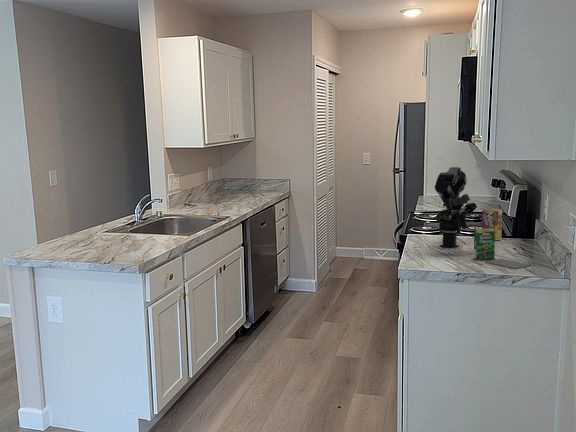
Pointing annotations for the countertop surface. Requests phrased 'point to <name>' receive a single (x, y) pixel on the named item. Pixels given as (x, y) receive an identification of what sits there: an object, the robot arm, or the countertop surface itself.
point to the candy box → (492, 221)
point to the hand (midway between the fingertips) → (465, 228)
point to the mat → (508, 263)
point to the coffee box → (484, 243)
